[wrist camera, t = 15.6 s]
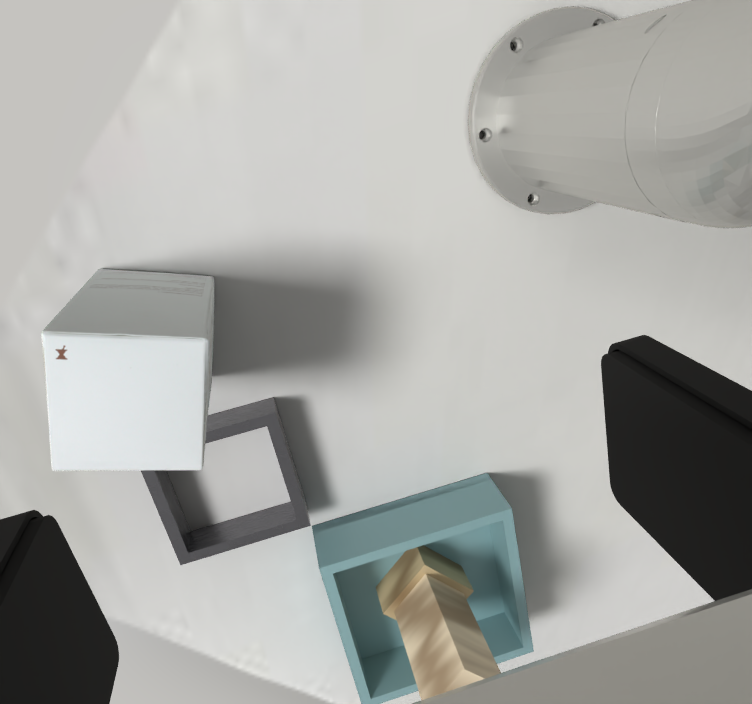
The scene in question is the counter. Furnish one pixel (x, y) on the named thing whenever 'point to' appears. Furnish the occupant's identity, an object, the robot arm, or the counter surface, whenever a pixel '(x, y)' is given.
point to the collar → (240, 528)
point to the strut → (436, 621)
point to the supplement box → (130, 373)
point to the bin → (443, 535)
